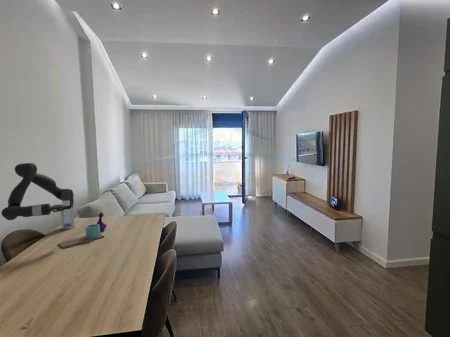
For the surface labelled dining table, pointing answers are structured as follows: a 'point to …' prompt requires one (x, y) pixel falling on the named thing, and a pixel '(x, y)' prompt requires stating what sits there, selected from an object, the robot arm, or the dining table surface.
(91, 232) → the crock
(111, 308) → the dining table surface
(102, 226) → the perfume bottle
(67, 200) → the grey long forked bar
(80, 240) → the walnut board
